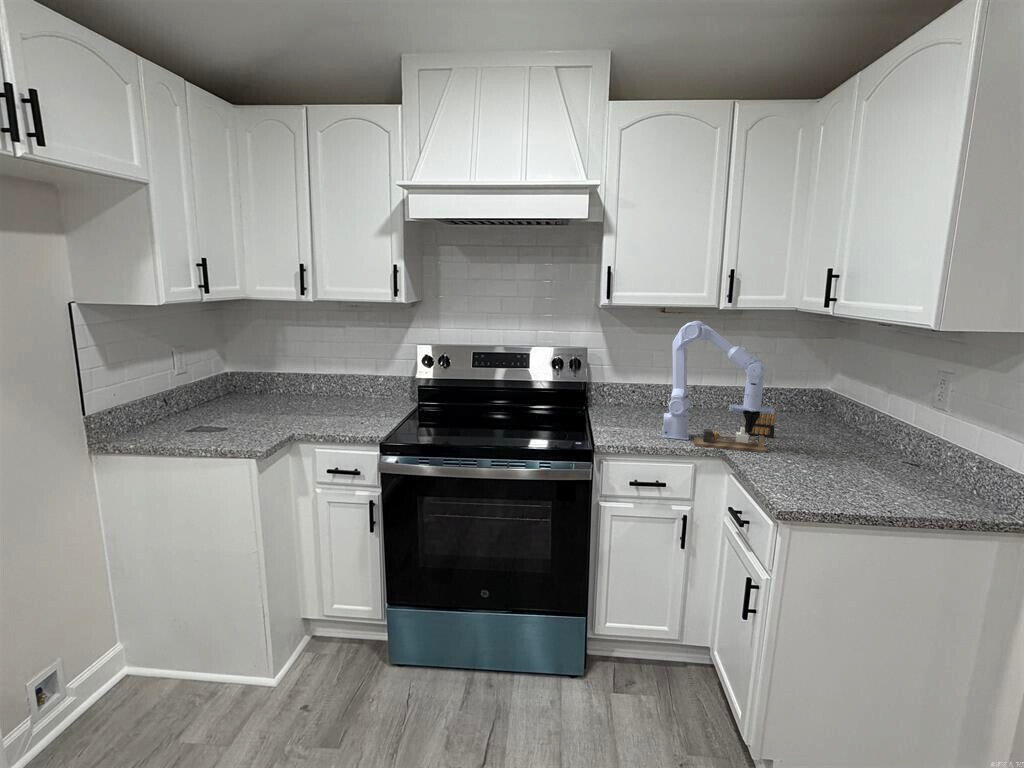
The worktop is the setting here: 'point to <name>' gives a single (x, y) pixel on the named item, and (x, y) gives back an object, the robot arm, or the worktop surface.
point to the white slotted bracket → (742, 436)
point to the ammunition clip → (762, 423)
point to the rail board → (729, 442)
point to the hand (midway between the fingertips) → (749, 431)
